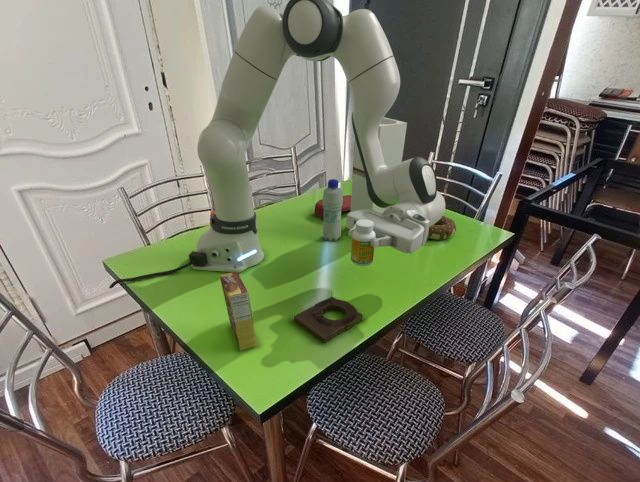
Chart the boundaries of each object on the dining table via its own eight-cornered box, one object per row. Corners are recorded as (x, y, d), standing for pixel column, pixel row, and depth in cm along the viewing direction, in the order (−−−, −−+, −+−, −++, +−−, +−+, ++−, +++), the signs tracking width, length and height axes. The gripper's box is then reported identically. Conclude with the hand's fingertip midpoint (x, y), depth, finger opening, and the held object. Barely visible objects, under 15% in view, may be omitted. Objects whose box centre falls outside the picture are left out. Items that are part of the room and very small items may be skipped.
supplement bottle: (357, 268, 85) (359, 229, 79) (346, 258, 89) (348, 220, 83) (377, 263, 87) (381, 225, 81) (366, 254, 91) (369, 216, 85)
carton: (348, 206, 160) (310, 213, 143) (350, 194, 157) (311, 201, 140) (371, 213, 154) (334, 222, 137) (373, 201, 151) (335, 209, 134)
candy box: (229, 328, 88) (219, 274, 78) (247, 324, 89) (238, 270, 80) (238, 352, 81) (228, 295, 72) (257, 346, 83) (249, 291, 73)
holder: (324, 344, 83) (324, 338, 82) (293, 321, 90) (292, 315, 89) (366, 319, 91) (366, 313, 90) (334, 299, 98) (334, 294, 96)
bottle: (339, 243, 124) (342, 183, 111) (320, 241, 125) (320, 182, 112) (342, 235, 129) (345, 177, 116) (324, 233, 130) (324, 175, 117)
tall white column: (392, 230, 132) (407, 122, 110) (369, 238, 127) (380, 126, 105) (371, 220, 139) (381, 116, 117) (349, 226, 134) (356, 120, 113)
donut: (460, 232, 131) (464, 219, 128) (443, 245, 123) (447, 231, 120) (424, 221, 138) (427, 209, 135) (406, 233, 130) (408, 220, 127)
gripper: (368, 199, 95) (330, 213, 88) (435, 223, 83) (397, 241, 76) (366, 222, 99) (329, 237, 92) (430, 248, 87) (393, 267, 80)
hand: (361, 239), depth 84 cm, fingers closed on supplement bottle, 5 cm apart
